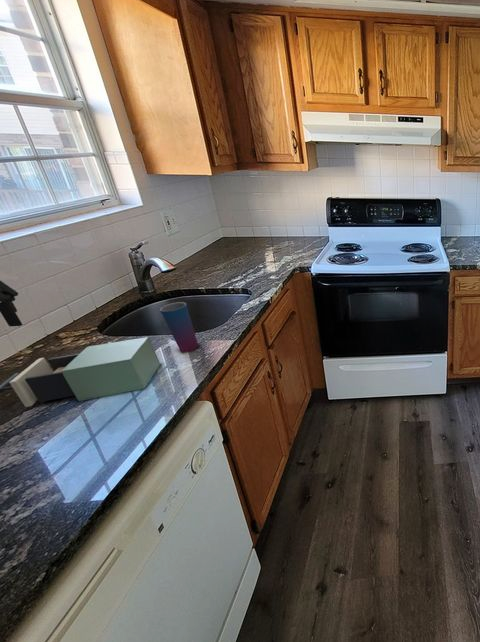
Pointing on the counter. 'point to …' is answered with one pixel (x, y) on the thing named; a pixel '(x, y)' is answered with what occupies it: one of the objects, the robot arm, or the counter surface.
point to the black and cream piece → (40, 381)
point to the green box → (112, 368)
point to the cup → (180, 325)
